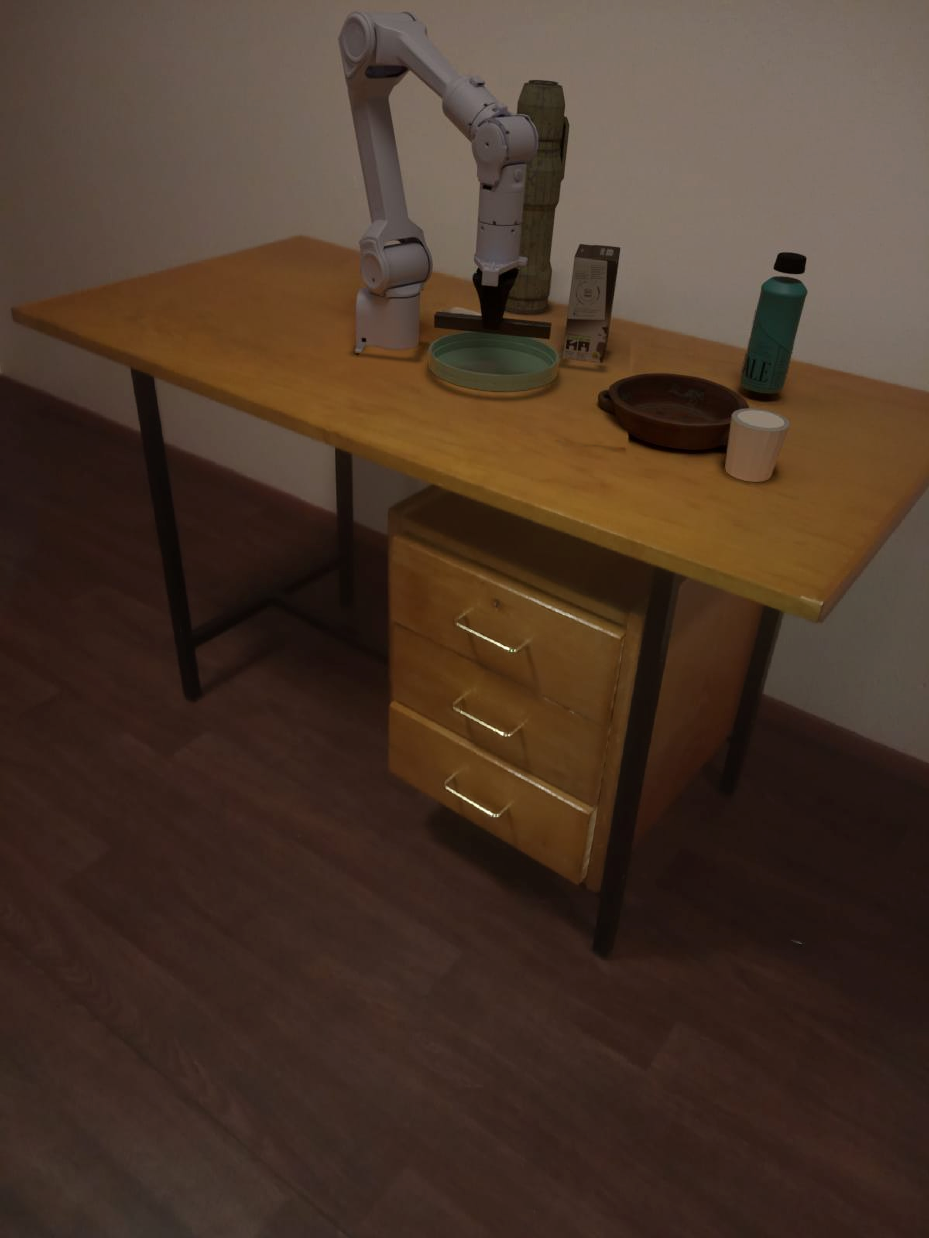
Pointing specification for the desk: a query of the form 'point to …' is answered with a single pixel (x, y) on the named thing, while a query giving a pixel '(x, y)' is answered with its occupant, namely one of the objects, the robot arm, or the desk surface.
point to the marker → (462, 311)
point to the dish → (673, 409)
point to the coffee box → (591, 302)
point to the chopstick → (506, 328)
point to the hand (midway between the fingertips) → (492, 326)
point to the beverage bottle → (775, 327)
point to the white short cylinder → (755, 443)
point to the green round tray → (493, 361)
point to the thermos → (540, 194)
